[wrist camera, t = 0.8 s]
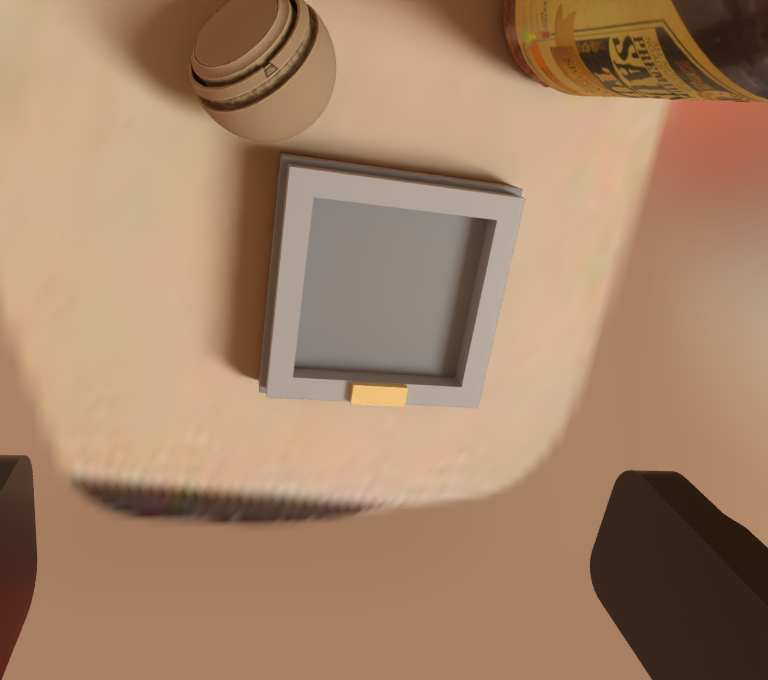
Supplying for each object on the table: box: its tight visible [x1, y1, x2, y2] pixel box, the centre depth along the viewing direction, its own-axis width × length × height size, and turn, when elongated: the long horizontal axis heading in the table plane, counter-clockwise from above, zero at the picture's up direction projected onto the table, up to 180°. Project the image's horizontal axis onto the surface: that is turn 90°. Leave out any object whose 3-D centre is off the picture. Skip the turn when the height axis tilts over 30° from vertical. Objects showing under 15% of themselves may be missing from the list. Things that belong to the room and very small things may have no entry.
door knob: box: [188, 0, 336, 142], centre depth 22 cm, size 5×5×5 cm
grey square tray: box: [259, 153, 525, 408], centre depth 27 cm, size 10×10×2 cm
